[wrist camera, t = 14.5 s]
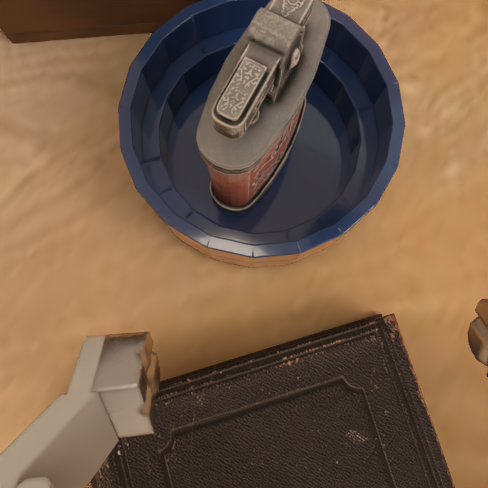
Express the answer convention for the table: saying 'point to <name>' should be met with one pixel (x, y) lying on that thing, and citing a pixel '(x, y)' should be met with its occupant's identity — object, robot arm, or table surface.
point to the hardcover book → (291, 420)
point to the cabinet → (83, 17)
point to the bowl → (299, 159)
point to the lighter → (261, 101)
